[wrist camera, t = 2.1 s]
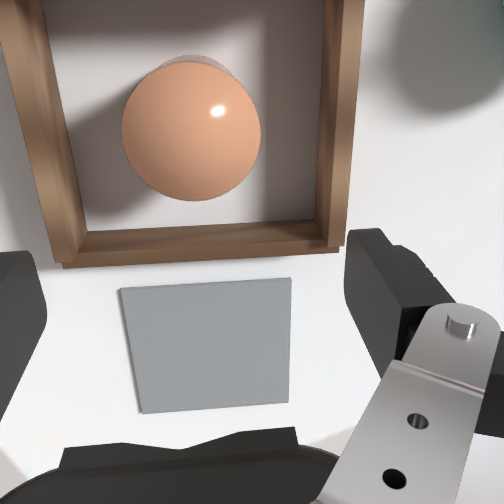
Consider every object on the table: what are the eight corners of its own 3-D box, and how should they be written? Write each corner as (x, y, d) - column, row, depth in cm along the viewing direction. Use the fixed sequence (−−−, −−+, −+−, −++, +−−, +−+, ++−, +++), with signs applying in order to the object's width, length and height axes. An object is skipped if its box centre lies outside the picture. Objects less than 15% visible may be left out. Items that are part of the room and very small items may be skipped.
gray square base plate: (121, 288, 33) (120, 290, 33) (290, 277, 34) (291, 279, 34) (142, 411, 39) (142, 414, 39) (287, 399, 40) (288, 402, 40)
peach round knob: (129, 50, 26) (110, 65, 21) (248, 47, 27) (260, 61, 21) (144, 166, 29) (131, 204, 24) (251, 161, 30) (261, 198, 25)
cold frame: (7, -61, 23) (-63, -80, 17) (347, -65, 25) (394, -84, 18) (74, 245, 32) (43, 306, 25) (327, 231, 33) (356, 286, 27)
